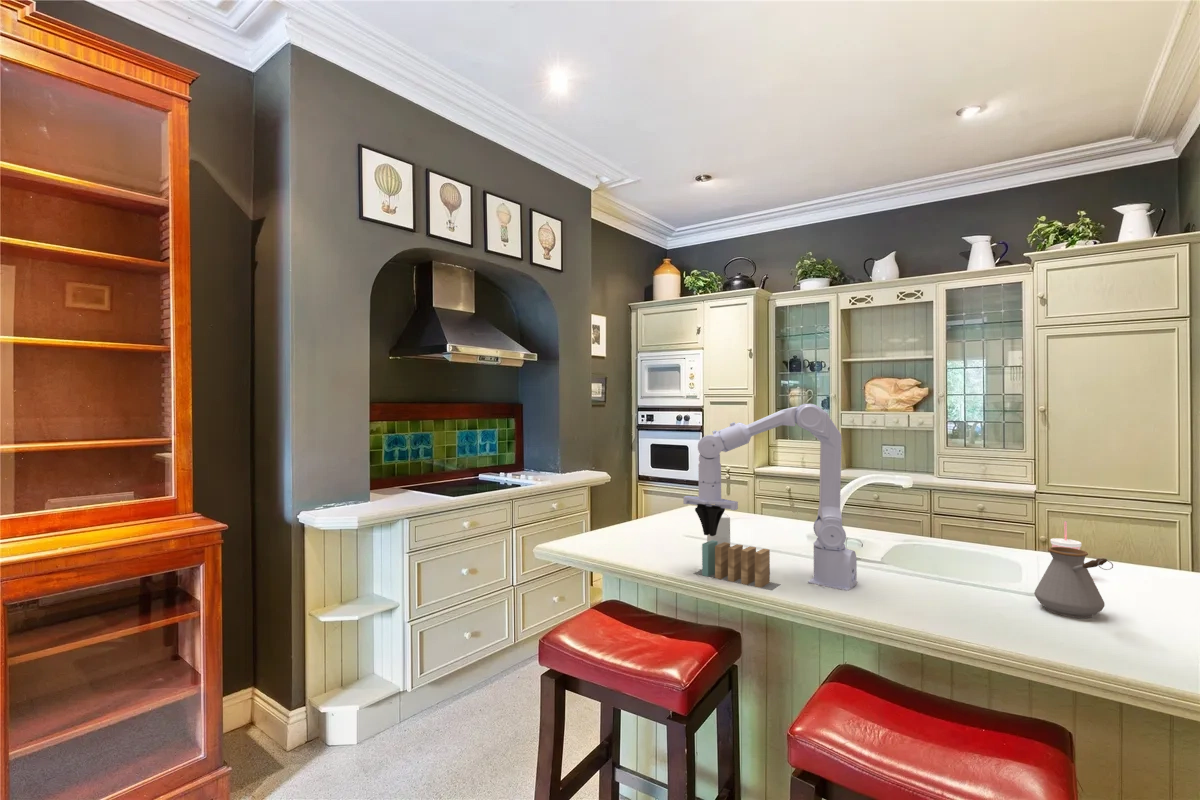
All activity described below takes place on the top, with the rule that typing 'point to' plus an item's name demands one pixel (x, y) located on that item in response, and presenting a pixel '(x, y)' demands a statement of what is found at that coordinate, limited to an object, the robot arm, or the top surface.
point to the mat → (769, 586)
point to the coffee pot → (1070, 584)
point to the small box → (722, 530)
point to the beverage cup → (1065, 541)
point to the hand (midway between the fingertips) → (710, 534)
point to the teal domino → (708, 558)
